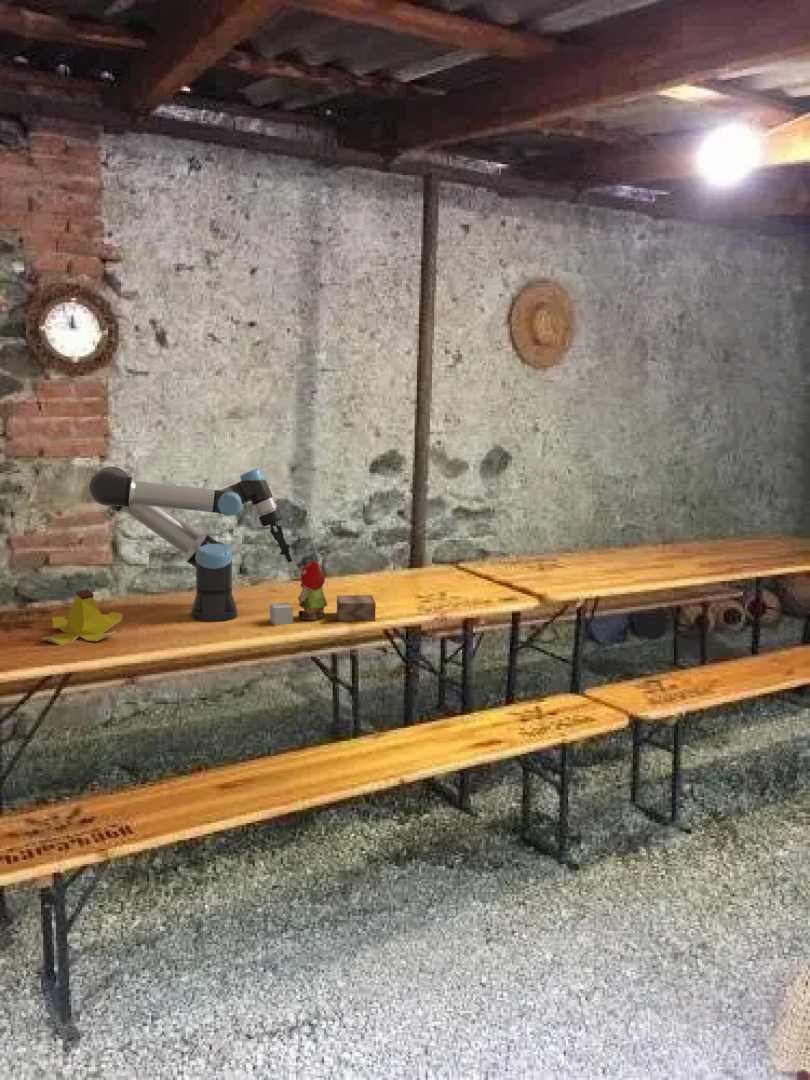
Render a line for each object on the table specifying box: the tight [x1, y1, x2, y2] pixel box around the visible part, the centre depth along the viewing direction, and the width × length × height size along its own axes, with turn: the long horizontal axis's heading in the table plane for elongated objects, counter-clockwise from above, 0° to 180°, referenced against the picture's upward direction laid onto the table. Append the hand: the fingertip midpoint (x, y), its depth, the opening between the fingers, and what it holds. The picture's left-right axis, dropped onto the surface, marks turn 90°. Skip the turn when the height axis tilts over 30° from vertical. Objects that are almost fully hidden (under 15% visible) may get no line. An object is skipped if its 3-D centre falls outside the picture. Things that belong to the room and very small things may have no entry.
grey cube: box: [269, 602, 294, 626], centre depth 318 cm, size 6×6×6 cm
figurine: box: [297, 560, 328, 621], centre depth 324 cm, size 11×9×20 cm
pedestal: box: [336, 594, 377, 622], centre depth 330 cm, size 12×12×6 cm
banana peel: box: [41, 589, 123, 646], centre depth 297 cm, size 25×27×15 cm
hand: (293, 568), depth 338 cm, fingers open, 13 cm apart
